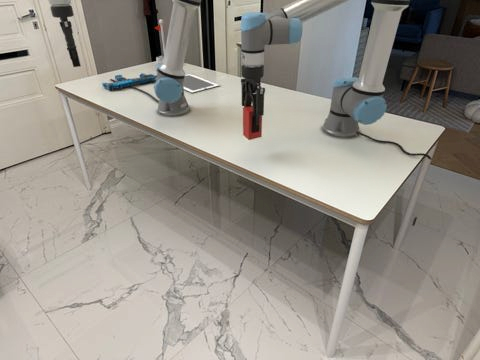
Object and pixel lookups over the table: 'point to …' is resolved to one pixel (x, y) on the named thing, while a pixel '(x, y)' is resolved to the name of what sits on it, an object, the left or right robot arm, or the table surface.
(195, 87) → the tablet
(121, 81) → the submachine gun
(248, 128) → the brick
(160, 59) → the flag stand
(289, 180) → the table surface
